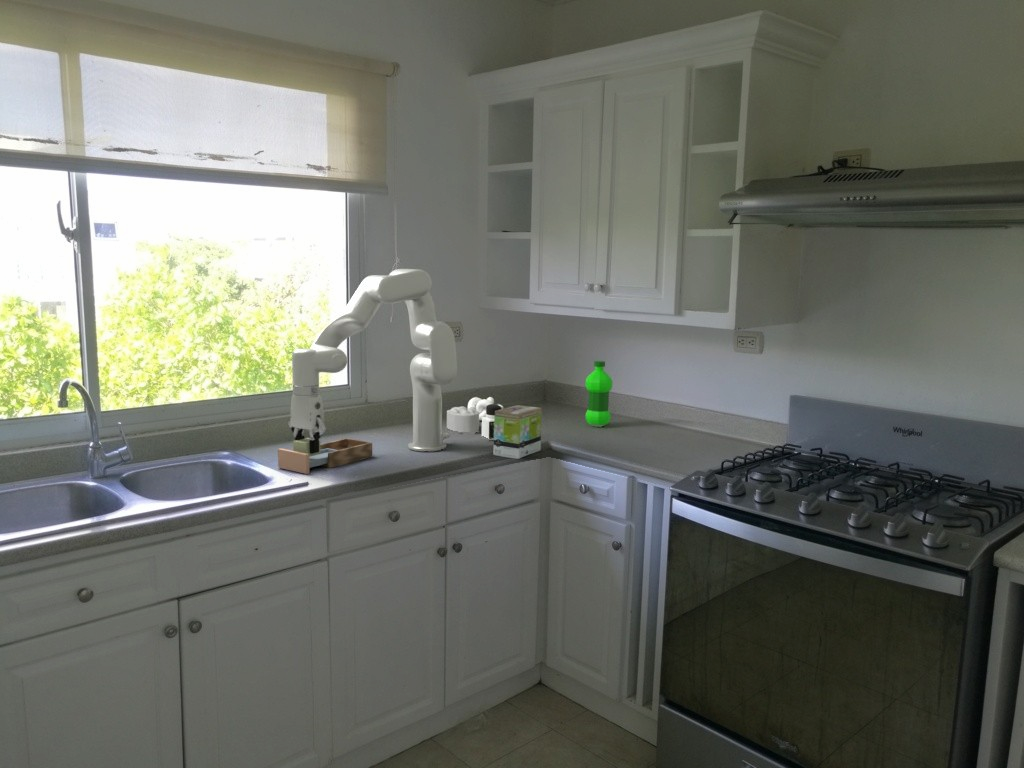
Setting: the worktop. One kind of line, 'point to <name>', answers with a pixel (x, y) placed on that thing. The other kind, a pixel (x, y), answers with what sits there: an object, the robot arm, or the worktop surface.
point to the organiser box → (346, 451)
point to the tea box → (517, 431)
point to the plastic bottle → (598, 395)
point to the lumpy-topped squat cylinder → (463, 419)
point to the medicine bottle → (489, 420)
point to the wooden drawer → (301, 460)
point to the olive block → (304, 446)
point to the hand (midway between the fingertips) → (307, 450)
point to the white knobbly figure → (480, 405)
